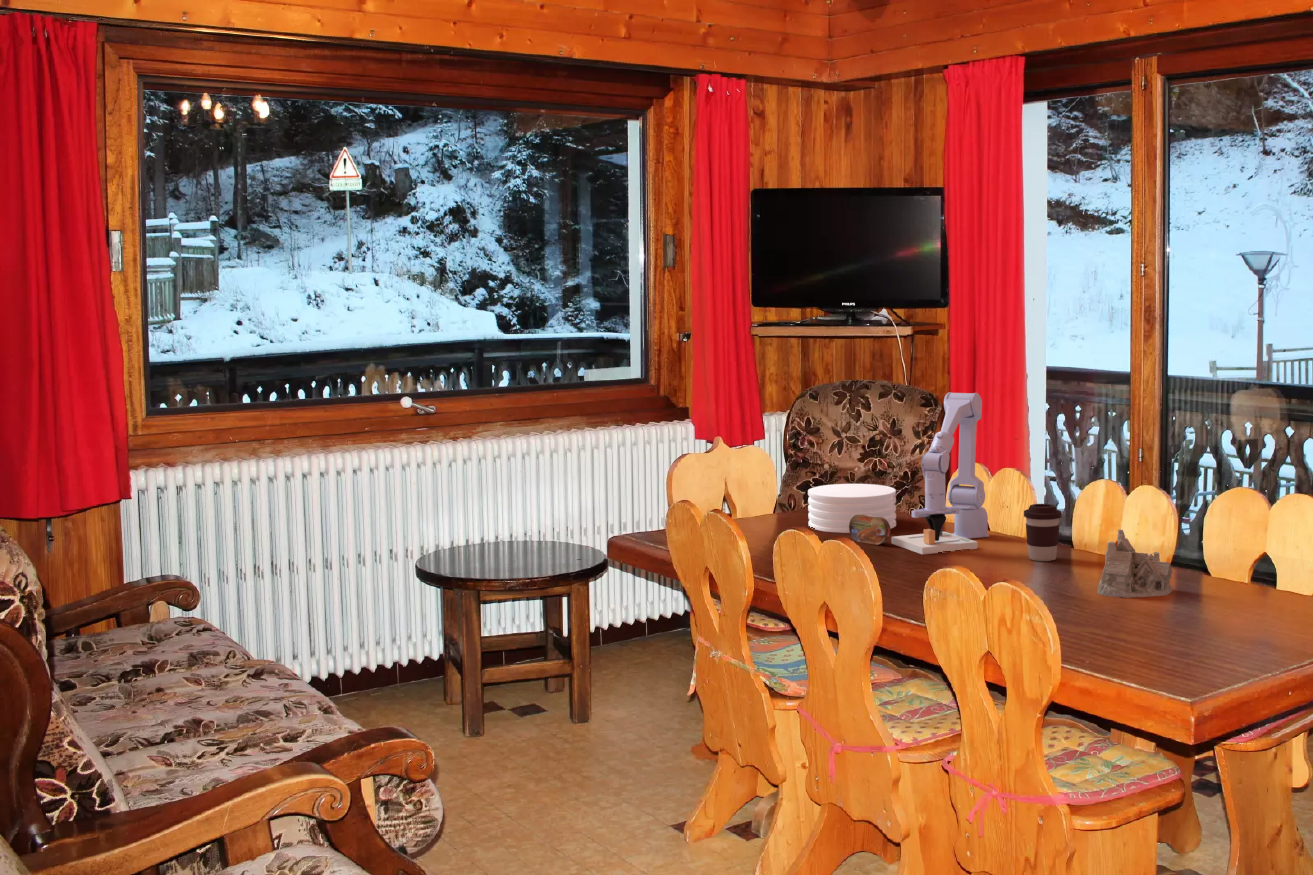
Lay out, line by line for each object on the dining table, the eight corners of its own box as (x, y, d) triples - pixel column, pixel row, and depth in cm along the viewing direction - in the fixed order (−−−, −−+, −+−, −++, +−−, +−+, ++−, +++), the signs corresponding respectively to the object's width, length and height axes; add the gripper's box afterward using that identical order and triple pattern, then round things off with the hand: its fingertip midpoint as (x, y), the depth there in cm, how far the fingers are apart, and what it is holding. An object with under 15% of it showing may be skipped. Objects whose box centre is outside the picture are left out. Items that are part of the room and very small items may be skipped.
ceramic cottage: (1088, 592, 312) (1093, 532, 310) (1117, 583, 324) (1123, 525, 322) (1150, 606, 301) (1156, 544, 299) (1178, 595, 313) (1184, 535, 311)
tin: (848, 540, 387) (848, 513, 386) (855, 538, 389) (855, 511, 388) (885, 547, 375) (884, 519, 374) (892, 545, 377) (892, 517, 376)
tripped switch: (929, 541, 370) (929, 528, 369) (935, 543, 367) (935, 530, 366) (923, 542, 369) (923, 529, 369) (928, 544, 366) (928, 531, 366)
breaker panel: (944, 538, 385) (944, 531, 385) (977, 548, 368) (977, 541, 368) (891, 543, 380) (891, 536, 380) (922, 554, 363) (922, 547, 363)
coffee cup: (1063, 563, 346) (1063, 508, 344) (1025, 562, 348) (1025, 508, 346) (1059, 555, 356) (1059, 502, 354) (1022, 555, 358) (1022, 502, 356)
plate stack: (801, 532, 403) (800, 496, 402) (816, 516, 430) (815, 483, 428) (890, 534, 395) (890, 497, 394) (900, 518, 422) (900, 484, 420)
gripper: (920, 497, 361) (920, 545, 362) (964, 493, 365) (965, 540, 367) (907, 494, 368) (908, 540, 369) (951, 490, 372) (952, 536, 374)
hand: (935, 540), depth 368 cm, fingers closed
